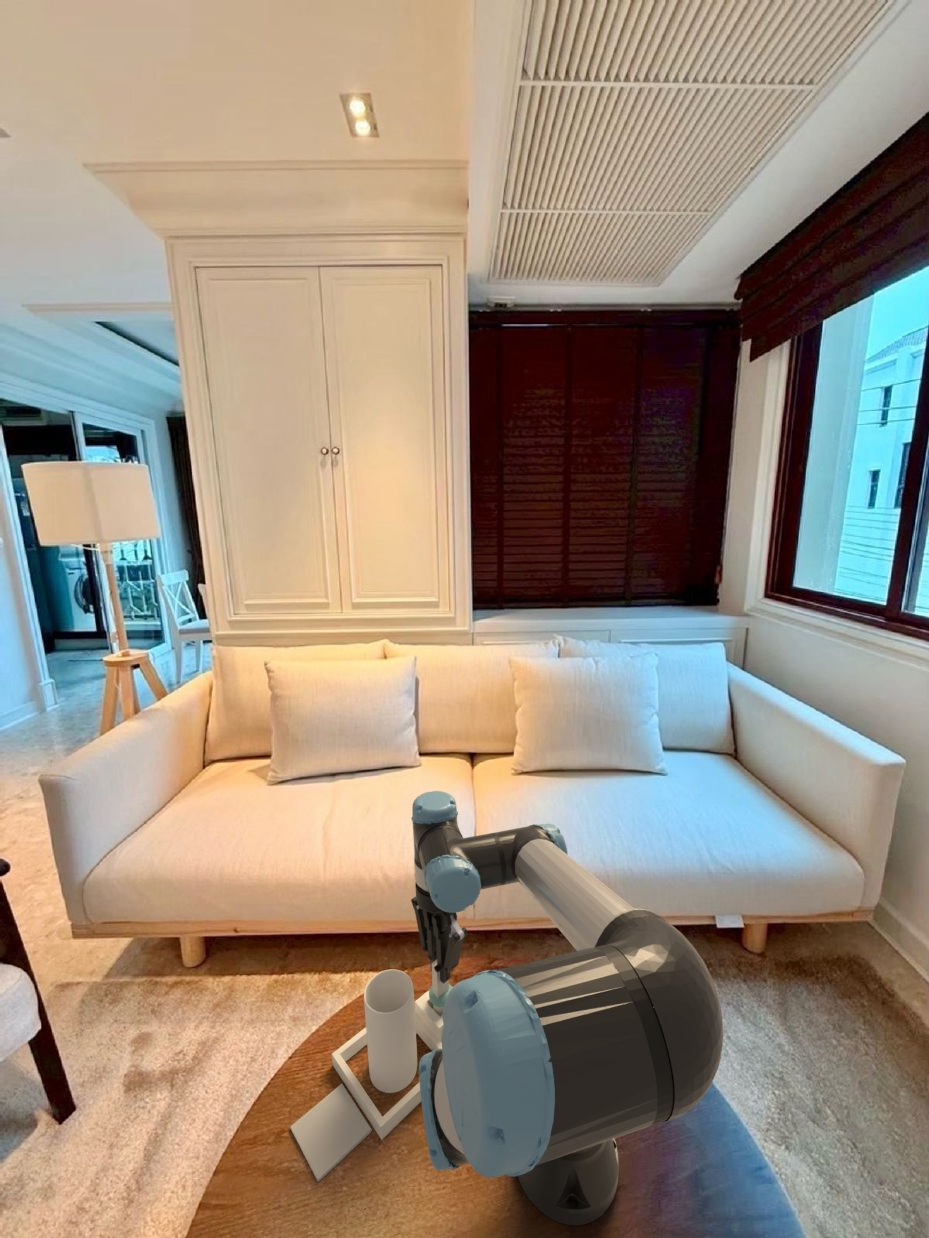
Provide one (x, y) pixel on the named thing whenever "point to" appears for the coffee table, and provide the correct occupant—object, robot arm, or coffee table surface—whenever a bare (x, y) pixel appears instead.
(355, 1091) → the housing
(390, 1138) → the coffee table surface
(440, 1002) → the mint mushroom button
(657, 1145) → the coffee table surface
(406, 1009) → the cup
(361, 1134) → the pad
